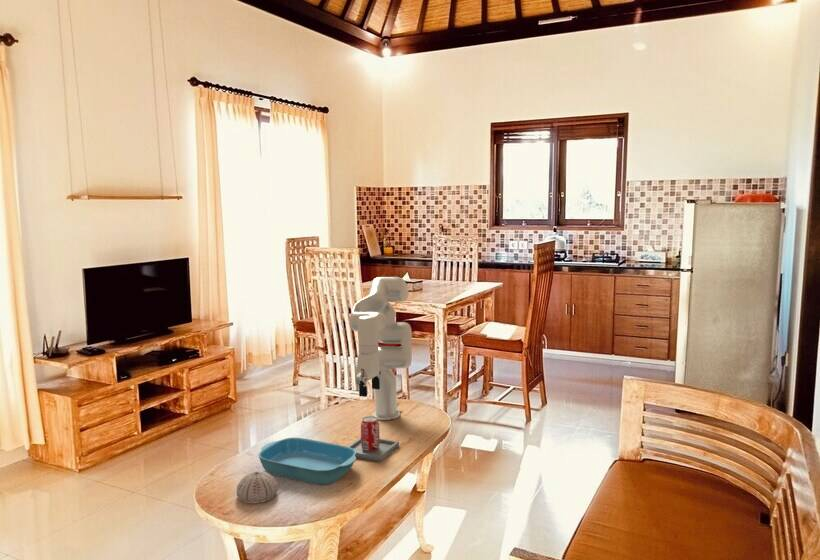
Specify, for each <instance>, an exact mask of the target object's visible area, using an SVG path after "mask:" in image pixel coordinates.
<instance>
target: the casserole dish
mask: <svg viewBox="0 0 820 560" xmlns="http://www.w3.org/2000/svg"><path fill="white" fill-rule="evenodd" d="M260 449H261V450H260V451H259V452H258V458H259V461H260V464H261V466H262V468H263V469H264V470H265V472H266V473H269V474H271V473H272V474H271V475H274V474H275V475H274V476H277V475H279V476H278V477H281V476H283V477H282V478H285V477H287V478H286V479H290V478H291V480H295V481H298V480H299V482H303V483H308V484H314V485H317V486H318V485H319V486H326V485H327V486H329V485H331V484H333V483H335V482H337V481H338V480H339V479H341V478H342V477H343V476H345V475H346V474H347V473H348V472H349V471H350V470H351V469H352V467H353V465H354V463H355V462H356V461H357V458H356V453H357V451H356V450H355V449H353V448H350V447H347V446H346V445H341V444H335V443H331V442H326V441H321V440H315V439H310V438H304V437H288V438H283V439H280V440H275V441H271V442H269V443H266V444H265V445H263V446H262V447H261V448H260Z"/></svg>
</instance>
